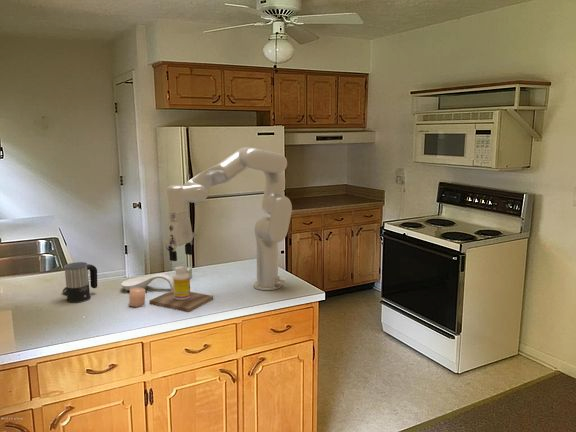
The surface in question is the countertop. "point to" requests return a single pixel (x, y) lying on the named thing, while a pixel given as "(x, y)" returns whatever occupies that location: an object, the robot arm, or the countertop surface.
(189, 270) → the sage block
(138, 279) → the spoon rest
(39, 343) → the countertop surface
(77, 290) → the milk frother
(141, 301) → the peach rounded capsule
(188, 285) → the supplement bottle
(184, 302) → the walnut board
